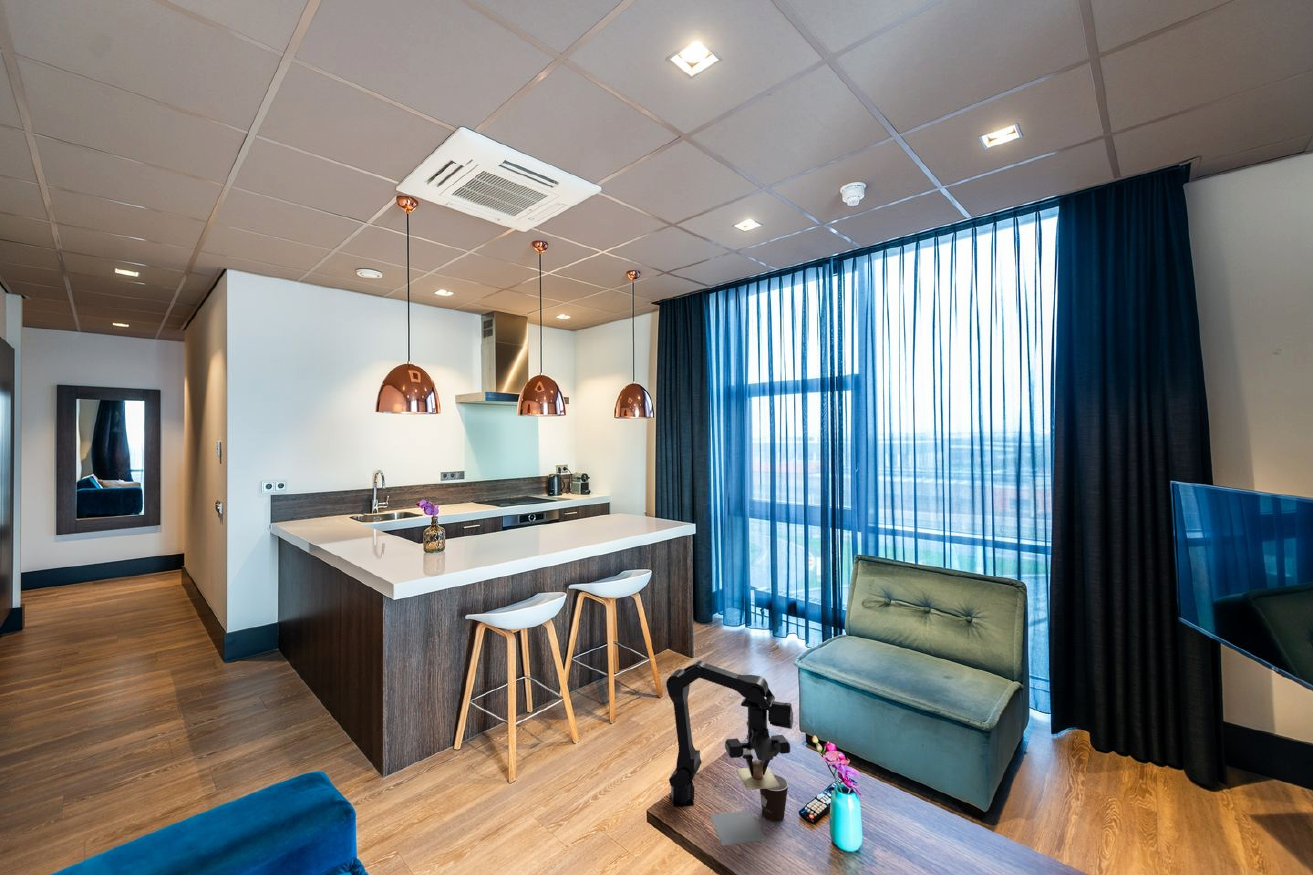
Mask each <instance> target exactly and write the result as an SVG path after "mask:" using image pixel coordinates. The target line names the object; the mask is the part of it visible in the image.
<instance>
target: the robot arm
mask: <svg viewBox="0 0 1313 875" xmlns="http://www.w3.org/2000/svg"><path fill="white" fill-rule="evenodd" d="M698 679H702V680H705V681H708V682H709V683H713V684H715V685H718V686H722V687H725V688H727V689H731V690H733V691H735V692H737V693H738V694H739V695H741V697H743V699H742V701H741V703H740V707H744V708H747V720H746V726H747V734H746V740H747V742H741V741H740V740H739V738H727V739H726V740H725V742H724V749H725V752H726V753H727V755H728V756H729V757H730V758H731V759H737V758H742V759H744V760H745V762H746V765H747V768H749V771H750V774H751V776H753V761H754V756H753V755H752V750H753V751H754V753H755V754H756V758H757V760H758V761H761V762H762V763H763V775H765V772H766V769H767V767H768V766H769V764H770V761H773V759H774V757H777V756H778V755H779V754H781V755H782V754H791V744H790V742H789V741H788V739H787V738H786V737H785V736H784V735H783V734H777V735H776V734H775V735H774V734H773V735H771V736H770V732H769V728H768V722H769V724H770V725H771V726H772V727H773V726H774V727H779V728H782V729H783V728H784V729H790V730H792V729H793V724H794V712H793V707H792V703H791V702H782V701H775V700H776V697H775V696H774V694H773V692H772V691H771V689H770V687H769V684H768V681H767V680H766V679H765V678H764V677H763V676H761V675H755V674H739V673H735V672H733V671H729V670H726V669H724V668H721V667H718V666H715V665H711V664H710V663H707V662H705V661H703V660H698V661H696V662H695V663H693V664H691V665H689V666H687V667H686V668H683V669H682V668H678V669H677V670H675V671H674V672H673V673H672V674H671V675H670V676H669V677H668V678H667V680H666V682H665V685H666V690H667V694H668V697H669V698H670V700H671V702H672V704H673V711H674V719H675V728H676V737H677V738H676V739H677V745H678V746H677V748H678V751H677V752H678V753H677V758H676V767H675V768H674V770H673V772H672V774H671V775H670V777H669V778H668V782H669V785H670V787H671V788H670V793H669V797H670V800H671V804H672V806H673V808H683V807H692V806H695V802H694V800H695V785H694V782H693V780H694V778H695V777H696V775H697V773H698V771H699V770H700V767H701V765H702V759H701V750H700V749H696V748H695V747H694V743H693V734H692V726H691V719H690V718H691V717H690V711H689V701H688V698H689V692H690V687H691V686H690V685H691V684H692V683H693V682H695V681H696V680H698ZM768 768H769V767H768ZM670 794H671V795H670Z"/></svg>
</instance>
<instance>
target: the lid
mask: <svg viewBox="0 0 1313 875" xmlns="http://www.w3.org/2000/svg"><path fill="white" fill-rule="evenodd" d="M752 762H753V776H751V774H750V771H749V768H748V767H744V768H743V767H742V768H736V769H735V771H736V773H737V774H738V776H739V778H740V780H741V782H742V784H743V786H744V788H745V790H746V791H753V790H760V789H765V788H775V787H780V785H779V783H778V782H777V780H776V779H775V777H774V776H773V774H774V773H772V771H771V769H770V768H769V767H767V769H766V772H765V775H763V763H762V762H761V761H760V760H758V759H757V760H752Z"/></svg>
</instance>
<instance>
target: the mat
mask: <svg viewBox="0 0 1313 875" xmlns="http://www.w3.org/2000/svg"><path fill="white" fill-rule="evenodd" d="M709 818H710V820H711V822H712V824H713V827H714V829H715V832H716V834H717V837H718V839H719V841H720V843H721V845H722V847H723V846H730V845H731V846H733V845H741V844H747V843H756V842H757V843H758V842H763V841H767V838H766V836H765V835H764V833H763V831H762V829H761V827H760V825H759V824H758V821H757V820H756V818H755V816H754V815H753V813H752V811H751V810H744V811H735V812H725V813H717V814H709Z"/></svg>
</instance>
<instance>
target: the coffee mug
mask: <svg viewBox="0 0 1313 875" xmlns="http://www.w3.org/2000/svg"><path fill="white" fill-rule="evenodd" d="M772 774H773V776H774V777H775V779H776V780H777V782H778V783H779V785H780V787H775V788H765V789H759V791H760V792H759V794H760V801H761V802H760V803H761V812H762V816H763V818H764V819H766V820H767V821H769V822H772V823H779V822H782V821H784V819H785V812H786V805H787V798H788V797H787V796H788V788H789V783H788V781H787V778H785V777H783V776H781V775H779V774H775V773H772Z"/></svg>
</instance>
